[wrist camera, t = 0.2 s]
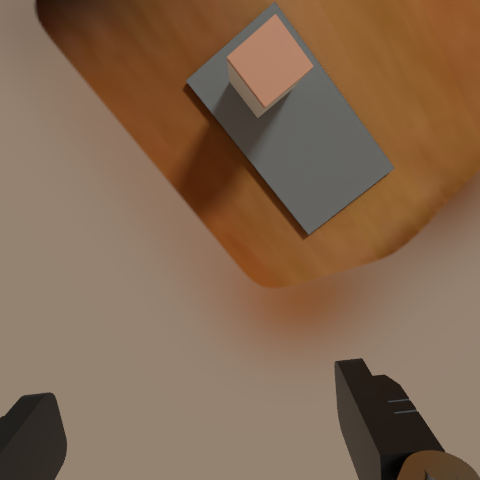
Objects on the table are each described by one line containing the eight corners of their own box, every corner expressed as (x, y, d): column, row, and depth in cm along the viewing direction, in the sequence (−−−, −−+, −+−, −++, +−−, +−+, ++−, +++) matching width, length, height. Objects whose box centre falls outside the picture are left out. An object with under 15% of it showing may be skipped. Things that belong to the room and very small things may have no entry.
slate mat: (186, 81, 36) (185, 80, 36) (274, 3, 35) (274, 1, 34) (307, 233, 39) (308, 234, 39) (392, 167, 38) (394, 168, 37)
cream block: (229, 81, 36) (226, 56, 26) (264, 50, 35) (275, 13, 25) (257, 118, 36) (265, 107, 27) (292, 88, 36) (313, 66, 26)
